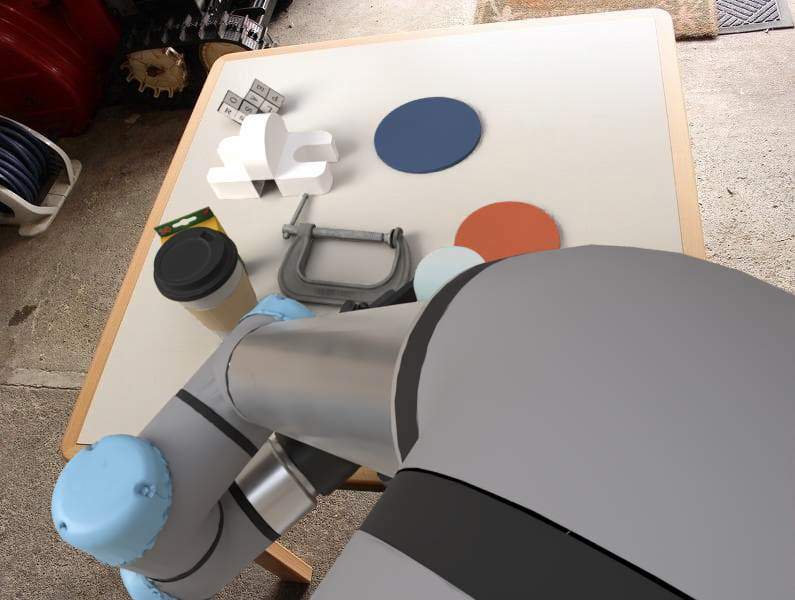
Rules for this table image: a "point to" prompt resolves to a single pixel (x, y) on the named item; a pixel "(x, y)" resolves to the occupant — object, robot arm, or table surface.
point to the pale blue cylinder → (442, 268)
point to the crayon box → (202, 220)
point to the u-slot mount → (273, 160)
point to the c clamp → (330, 291)
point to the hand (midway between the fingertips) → (473, 319)
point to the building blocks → (250, 102)
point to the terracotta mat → (507, 231)
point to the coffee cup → (205, 278)
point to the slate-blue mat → (427, 135)
